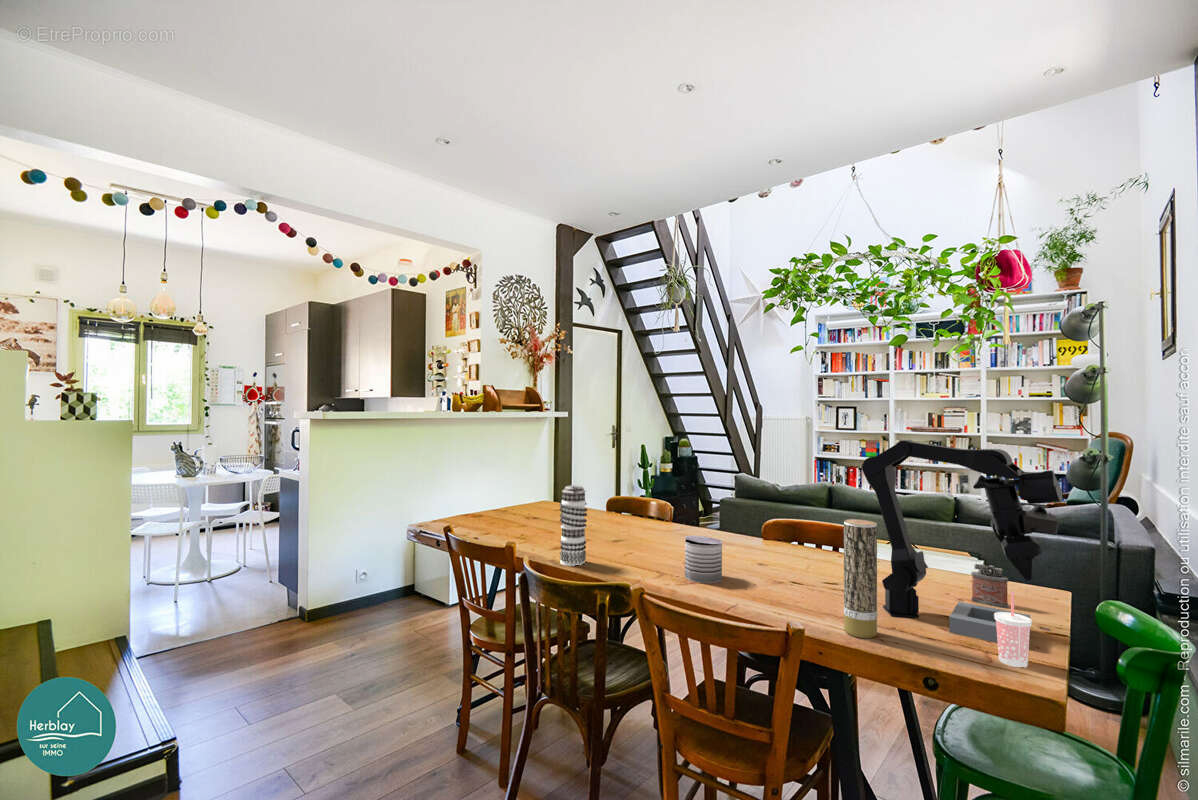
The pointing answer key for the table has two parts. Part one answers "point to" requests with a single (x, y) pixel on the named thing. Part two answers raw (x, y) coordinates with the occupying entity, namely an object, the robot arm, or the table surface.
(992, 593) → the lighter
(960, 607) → the hole block
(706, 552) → the can
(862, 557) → the paper tube
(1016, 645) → the beverage cup
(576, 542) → the decorative candle
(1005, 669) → the table surface
